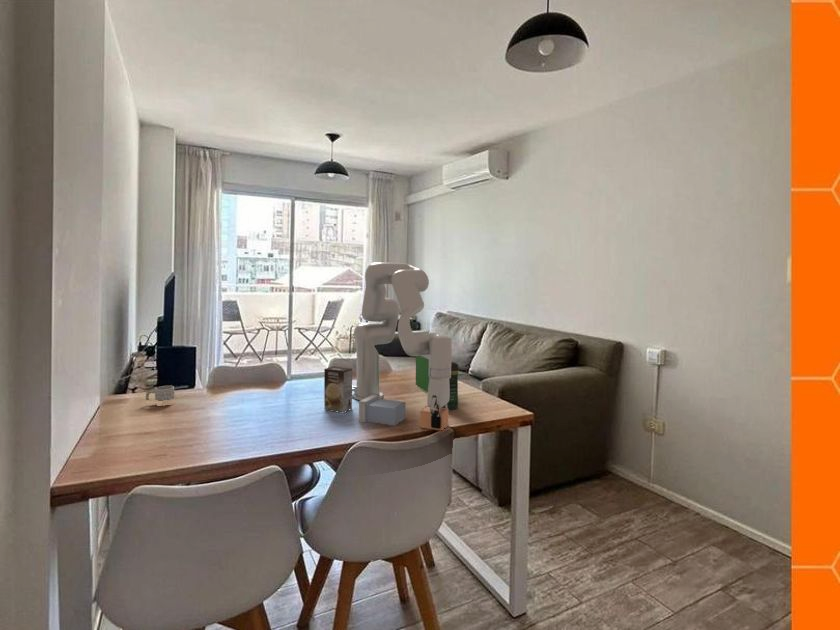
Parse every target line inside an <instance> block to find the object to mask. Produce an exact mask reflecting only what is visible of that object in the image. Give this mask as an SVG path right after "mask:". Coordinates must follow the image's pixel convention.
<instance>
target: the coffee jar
mask: <svg viewBox="0 0 840 630" xmlns="http://www.w3.org/2000/svg"><path fill="white" fill-rule="evenodd" d="M459 371H460V370H459V364H458V363H457V362H454V361H452V360H451V378H449V384H450V397H449V402H448V404H447V407H448V411H450V410H451V411H452V410H454V409H457V408H458V407H459V389H458V387H459V381H458V380H459ZM435 407H438V405H436V406H435Z"/></svg>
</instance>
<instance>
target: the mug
mask: <svg viewBox="0 0 840 630" xmlns="http://www.w3.org/2000/svg"><path fill="white" fill-rule="evenodd" d="M145 392H146V393H145V401H146V400H150V398H149V395H150V394H154V400H158V401H164V400H171V399H174V398H175V386H174V385H162V386H158V387H157V386H156V387H155V388H154V389H152V390H148V391H145Z"/></svg>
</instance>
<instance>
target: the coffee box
mask: <svg viewBox="0 0 840 630" xmlns="http://www.w3.org/2000/svg"><path fill="white" fill-rule="evenodd" d="M323 372H324V379H323V380H324V381H323V382H324V385H323V386H324V387H323V388H324V393H323V395H324V396H323V397H324V399H323V400H324V401H323V402H324V408H323V409H327V410H326V411H329V410H333V411H332V412H334V411H338V412H337V413H340V412H345V411H347V410H349V409H351V410H352V409H353V391H352V386H353V368H350V367H343V366H337V365H333V366H329V367H327V368H324V370H323ZM349 411H350V410H349ZM347 412H348V411H347ZM345 413H346V412H345Z"/></svg>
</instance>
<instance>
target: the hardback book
mask: <svg viewBox="0 0 840 630" xmlns="http://www.w3.org/2000/svg"><path fill="white" fill-rule="evenodd" d="M429 379H430V378H429V355H420V356H415V386H416V385H417V386H416V387H418V388H419V387H420V388H419V389H421V390H423V391H424V392H426V393H428V386H429Z"/></svg>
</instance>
